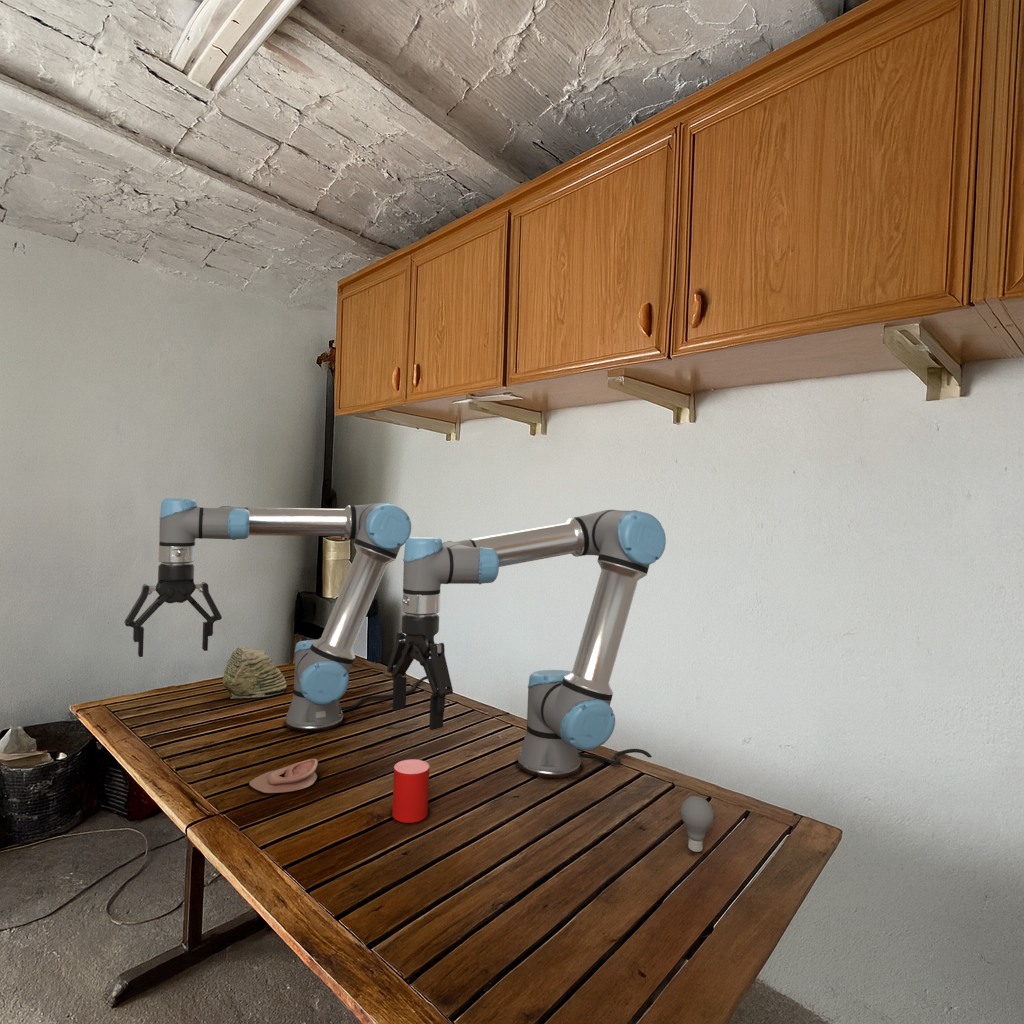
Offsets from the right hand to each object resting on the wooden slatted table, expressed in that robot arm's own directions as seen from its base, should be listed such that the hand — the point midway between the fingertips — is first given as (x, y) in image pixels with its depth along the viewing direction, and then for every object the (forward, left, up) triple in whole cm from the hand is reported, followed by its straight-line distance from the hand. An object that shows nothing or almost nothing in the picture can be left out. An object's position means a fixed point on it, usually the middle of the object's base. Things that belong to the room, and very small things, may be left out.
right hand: (416, 718), depth 128 cm
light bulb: (-34, +43, -20) cm, 59 cm away
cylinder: (+1, 0, -20) cm, 20 cm away
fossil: (-1, -92, -20) cm, 94 cm away
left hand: (+31, -58, +5) cm, 66 cm away
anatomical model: (+15, -28, -20) cm, 38 cm away
